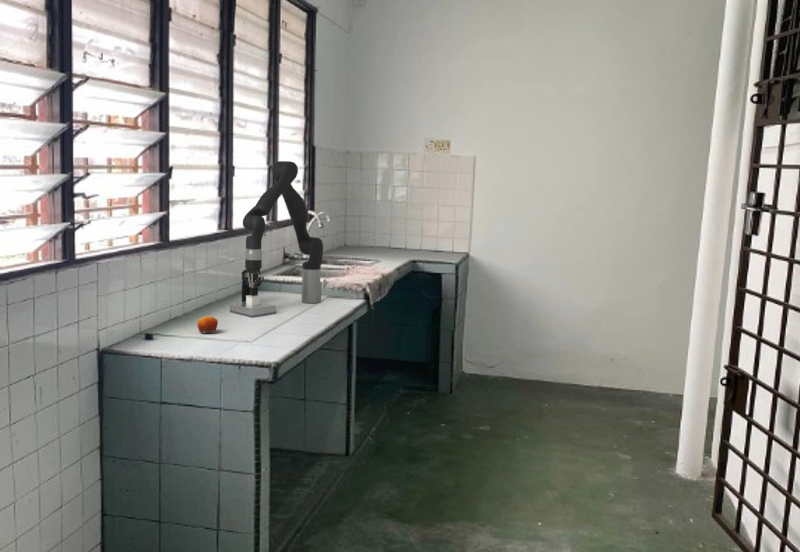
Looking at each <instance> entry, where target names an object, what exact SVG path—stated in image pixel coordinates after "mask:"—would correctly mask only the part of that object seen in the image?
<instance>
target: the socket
mask: <svg viewBox="0 0 800 552" xmlns="http://www.w3.org/2000/svg"><path fill="white" fill-rule="evenodd" d="M276 305H277V304H273V303H272V304H271V303H267V302H262V301H260V305H257V306H249V305H246V301H245V302H242V301H240V302H233V303H229V313H232V314H236V315H240V316H243V315H244V317H248V318H252V319H253V318H258V317H265V316H270V315H276V314H277V306H276Z"/></svg>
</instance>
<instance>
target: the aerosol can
mask: <svg viewBox="0 0 800 552" xmlns="http://www.w3.org/2000/svg"><path fill="white" fill-rule="evenodd" d="M246 270H247V269H246V268H244V270H242V272H241V302H245V301H246V296H247V295H250V287H249V285H247V284H246V282H245V280H244V277H243V274H245V273H246ZM258 294H259V287H257V288H256V295H258ZM258 296H259V295H258Z"/></svg>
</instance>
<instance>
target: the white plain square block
mask: <svg viewBox="0 0 800 552" xmlns="http://www.w3.org/2000/svg"><path fill="white" fill-rule="evenodd" d="M260 302H261V296H260V295H255V296H252V295H247V296H246V305H249V306H257V305H260Z"/></svg>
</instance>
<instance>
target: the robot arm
mask: <svg viewBox="0 0 800 552" xmlns="http://www.w3.org/2000/svg"><path fill="white" fill-rule="evenodd" d="M271 170H272V171H271V172H272V176H273V179H274V181H275V183H274V184H273V185H271V187H269V188H268V189H267V190H266V191H264V192H263V193H262V195H260V197H259V199H258V201H257V202H256V203H255V204H256V205H254V206H253V207H252V208H251V209H250V210H249V211H248V212H247V213H246V214H245V215H244V216H243V219H242V226H243V228H244V229H245V230H248V231H252V233H251V235H247V236H246V238H245V253H244V267H245V268H244V269H247V270H246V273H245V274H243V277H244V280H245V282H246V284H247V285H249V287H250V295H252V296H255V295H256V288H257V287H258V288H259V287H261V284H262V283H263V281H264V280H265V277H264V276H262V274H261V269H262V267H263V252H262V239H263V237H264V233H265V229H266V221H265V218H264V217H265V216H268V215H269V214H270V212H271V210H272V208H273V207H274V205H275V204H276V202H277V201H278V199H279V198H280V197H281V196H282V198H283V200H284V203H285V206H286V209H287V212H288V215H289V218H290V220H291V223H292V226H293V229H294V232H295V235H296V239H297V244H298V248H299V250H300V252H301V253H302V254H304V255H307V256H309V258H308V260H307V261H304V262H302V271H301V272H302V273H301V274H302V275H301V303H304V304H318V303H321V302H322V287H323V286H322V284H323V283H322V282H321V268H322V267H321V266H322V264H323V255H324V244H323V243H324V242H323V240H322V239H321V238H320V237H315V236H310V235H309V234H310V233H309V232H308V229H307V223H308V218H309V210H308V208H307V204H306V201H305V200H304V198H303V197H302V196H301V195H300V193H299V192H298V191H297V190H296V189H295V188H294V187H293V185H292V183H293V182H294V181H295V179H296V178H297V176H298V172H299V168H298V166H297V164H296V163H295V162H294V161H288V160H286V161H285V160H280V161H279V160H278V161H275V162H274V163H272V168H271ZM320 301H321V302H320Z"/></svg>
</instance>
